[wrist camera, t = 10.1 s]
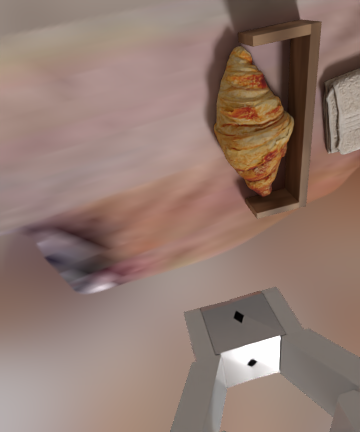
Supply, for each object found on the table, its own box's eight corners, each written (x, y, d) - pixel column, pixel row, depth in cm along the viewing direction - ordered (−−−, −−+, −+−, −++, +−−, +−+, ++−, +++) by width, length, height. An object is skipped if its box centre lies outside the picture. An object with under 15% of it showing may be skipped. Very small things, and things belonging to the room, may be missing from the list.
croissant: (202, 51, 42) (187, 70, 36) (283, 26, 38) (280, 44, 32) (237, 184, 54) (230, 215, 48) (301, 176, 50) (302, 209, 44)
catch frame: (245, 203, 52) (257, 218, 49) (238, 32, 38) (252, 36, 35) (291, 191, 53) (306, 206, 49) (300, 19, 39) (321, 21, 35)
